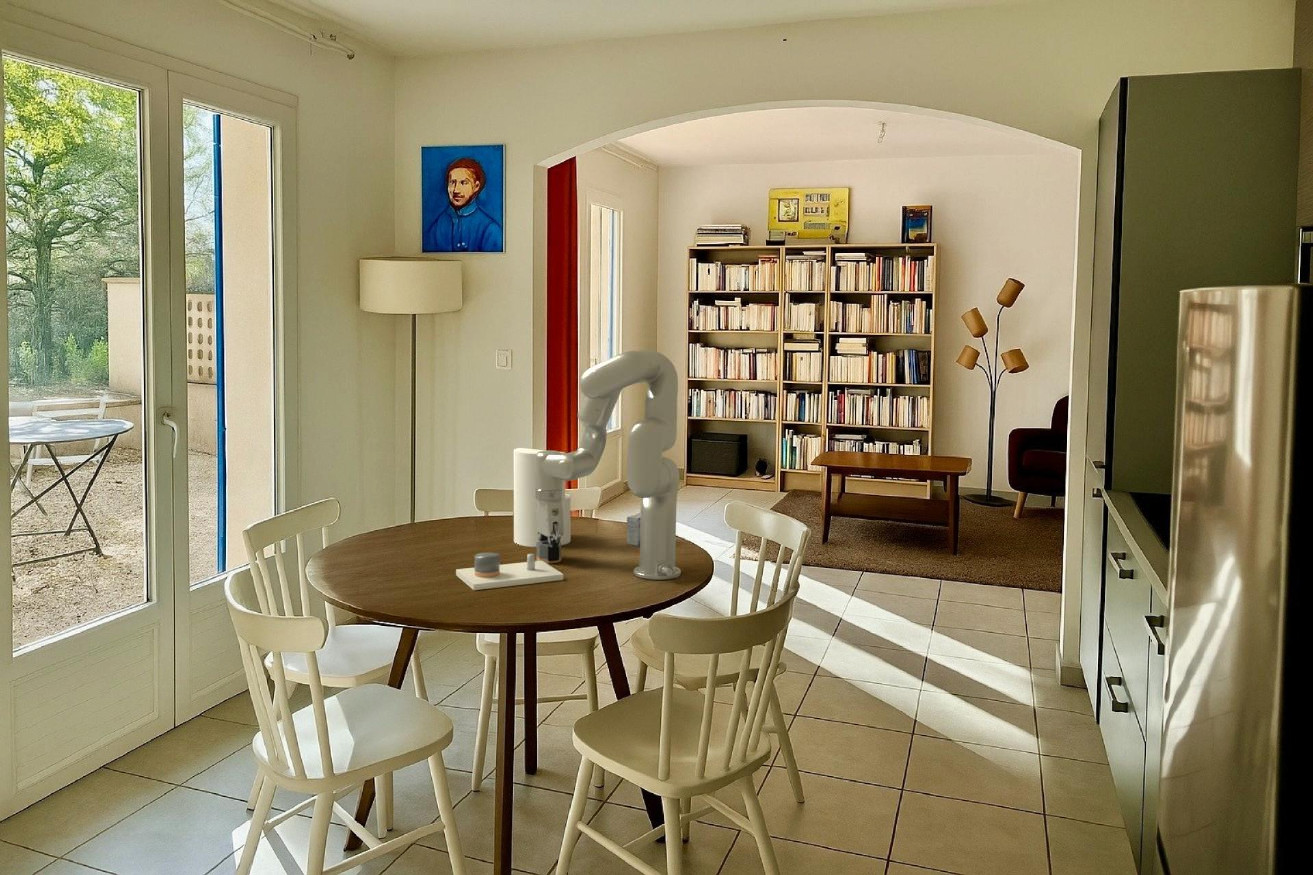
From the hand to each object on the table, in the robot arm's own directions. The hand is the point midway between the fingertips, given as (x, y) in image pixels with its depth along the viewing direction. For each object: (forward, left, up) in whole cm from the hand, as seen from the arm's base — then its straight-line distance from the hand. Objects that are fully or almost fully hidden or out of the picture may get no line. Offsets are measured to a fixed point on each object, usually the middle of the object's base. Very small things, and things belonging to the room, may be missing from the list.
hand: (548, 557), depth 277 cm
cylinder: (+24, -7, -1) cm, 25 cm away
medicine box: (+9, -33, -1) cm, 34 cm away
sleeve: (0, 0, -1) cm, 1 cm away
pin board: (-13, +16, -1) cm, 21 cm away
